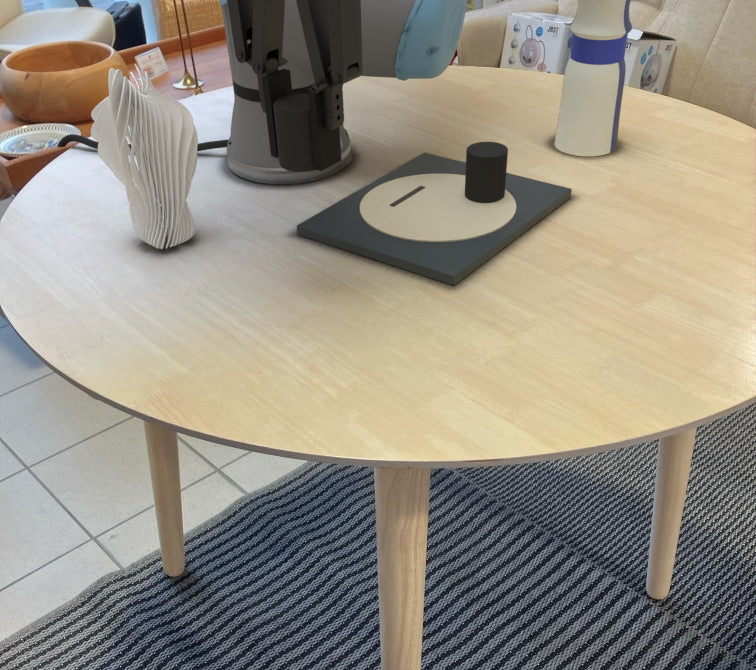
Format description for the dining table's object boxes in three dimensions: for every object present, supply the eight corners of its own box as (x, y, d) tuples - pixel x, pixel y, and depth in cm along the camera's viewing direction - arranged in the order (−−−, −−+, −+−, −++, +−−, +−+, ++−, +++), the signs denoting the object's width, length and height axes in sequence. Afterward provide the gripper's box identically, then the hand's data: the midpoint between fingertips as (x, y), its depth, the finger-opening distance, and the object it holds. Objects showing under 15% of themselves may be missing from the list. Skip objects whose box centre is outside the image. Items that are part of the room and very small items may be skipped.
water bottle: (560, 128, 112) (586, -105, 95) (626, 137, 109) (665, -102, 92) (540, 150, 106) (564, -92, 89) (608, 160, 103) (646, -88, 86)
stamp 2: (457, 197, 94) (458, 151, 91) (478, 183, 97) (480, 138, 93) (491, 206, 92) (494, 160, 89) (512, 192, 95) (515, 146, 91)
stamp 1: (269, 164, 75) (261, 105, 71) (302, 148, 77) (297, 90, 74) (306, 176, 73) (301, 115, 69) (339, 159, 75) (336, 99, 72)
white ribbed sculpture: (174, 216, 96) (138, 39, 83) (218, 239, 91) (187, 55, 79) (109, 242, 91) (62, 59, 79) (153, 267, 87) (110, 77, 75)
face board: (297, 234, 91) (295, 222, 91) (424, 160, 105) (424, 149, 104) (454, 285, 82) (454, 273, 82) (570, 197, 96) (572, 186, 95)
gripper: (148, -181, 61) (205, 151, 77) (337, -170, 53) (356, 197, 69) (224, -192, 65) (263, 124, 81) (409, -184, 57) (411, 165, 73)
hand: (305, 157), depth 75 cm, fingers closed on stamp 1, 4 cm apart
